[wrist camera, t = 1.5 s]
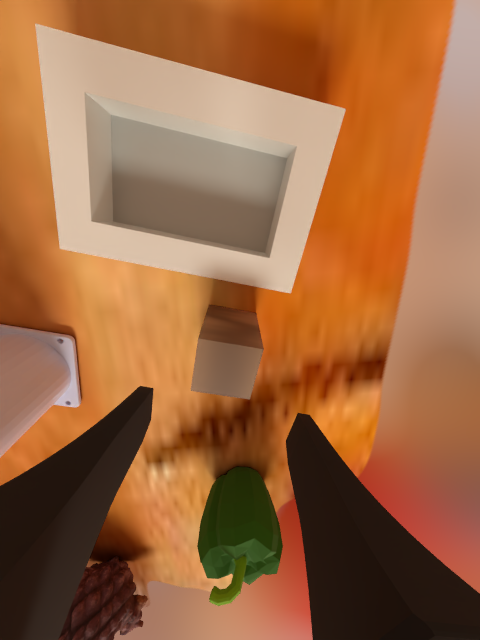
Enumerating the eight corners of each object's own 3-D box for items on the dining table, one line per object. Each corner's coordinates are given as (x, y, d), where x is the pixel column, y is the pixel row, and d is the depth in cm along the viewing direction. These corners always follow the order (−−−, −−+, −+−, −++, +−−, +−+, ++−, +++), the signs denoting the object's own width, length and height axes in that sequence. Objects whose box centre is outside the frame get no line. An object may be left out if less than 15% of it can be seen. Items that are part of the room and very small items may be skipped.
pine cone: (38, 557, 35) (-32, 676, 26) (50, 525, 32) (-25, 649, 23) (148, 581, 39) (120, 692, 30) (169, 554, 35) (146, 671, 26)
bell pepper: (284, 465, 27) (308, 588, 18) (259, 503, 30) (269, 626, 21) (216, 450, 26) (205, 574, 17) (198, 492, 29) (181, 616, 20)
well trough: (88, 244, 17) (60, 248, 14) (77, 65, 13) (35, 23, 10) (282, 282, 18) (290, 293, 16) (325, 130, 14) (345, 109, 12)
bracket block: (203, 345, 21) (190, 390, 15) (209, 304, 19) (198, 338, 14) (246, 352, 21) (249, 399, 15) (256, 312, 19) (263, 349, 14)
